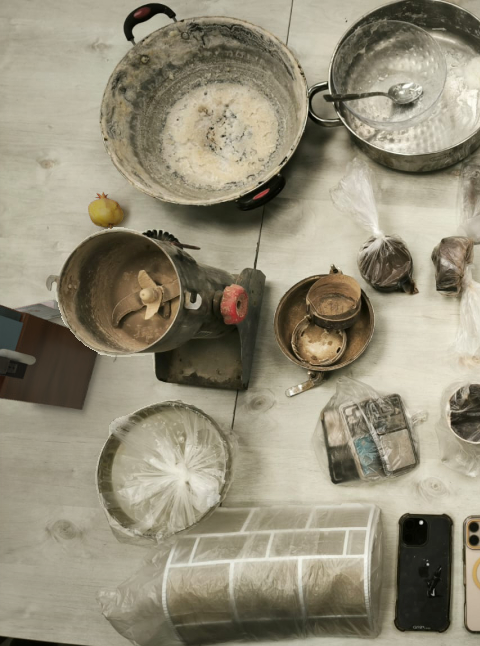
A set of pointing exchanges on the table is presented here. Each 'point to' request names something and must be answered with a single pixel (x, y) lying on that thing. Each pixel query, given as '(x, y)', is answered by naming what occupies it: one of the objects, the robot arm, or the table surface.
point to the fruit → (105, 212)
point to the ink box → (42, 309)
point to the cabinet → (49, 364)
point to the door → (12, 341)
